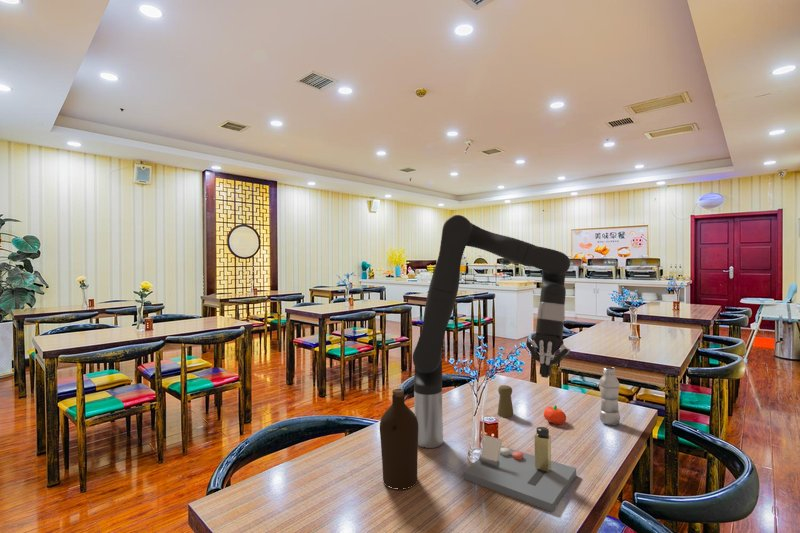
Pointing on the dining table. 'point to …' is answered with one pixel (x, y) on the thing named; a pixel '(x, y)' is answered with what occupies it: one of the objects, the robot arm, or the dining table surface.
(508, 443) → the dining table surface
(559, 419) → the pumpkin
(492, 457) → the cream rectangular block
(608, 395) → the plastic bottle
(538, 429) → the slide lever
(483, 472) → the control board
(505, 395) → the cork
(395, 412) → the olive oil
